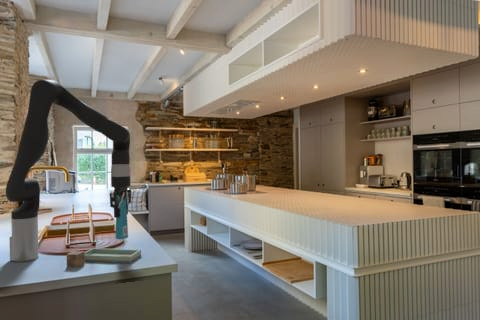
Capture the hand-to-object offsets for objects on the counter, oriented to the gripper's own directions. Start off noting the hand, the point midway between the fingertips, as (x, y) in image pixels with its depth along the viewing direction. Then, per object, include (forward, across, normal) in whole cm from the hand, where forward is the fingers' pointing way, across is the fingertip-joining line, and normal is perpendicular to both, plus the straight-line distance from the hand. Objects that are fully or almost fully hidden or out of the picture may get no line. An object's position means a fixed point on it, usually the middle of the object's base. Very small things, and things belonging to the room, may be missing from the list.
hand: (121, 215), depth 140 cm
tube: (+9, 0, 0) cm, 9 cm away
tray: (+18, 0, +5) cm, 18 cm away
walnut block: (+18, -10, +14) cm, 25 cm away
